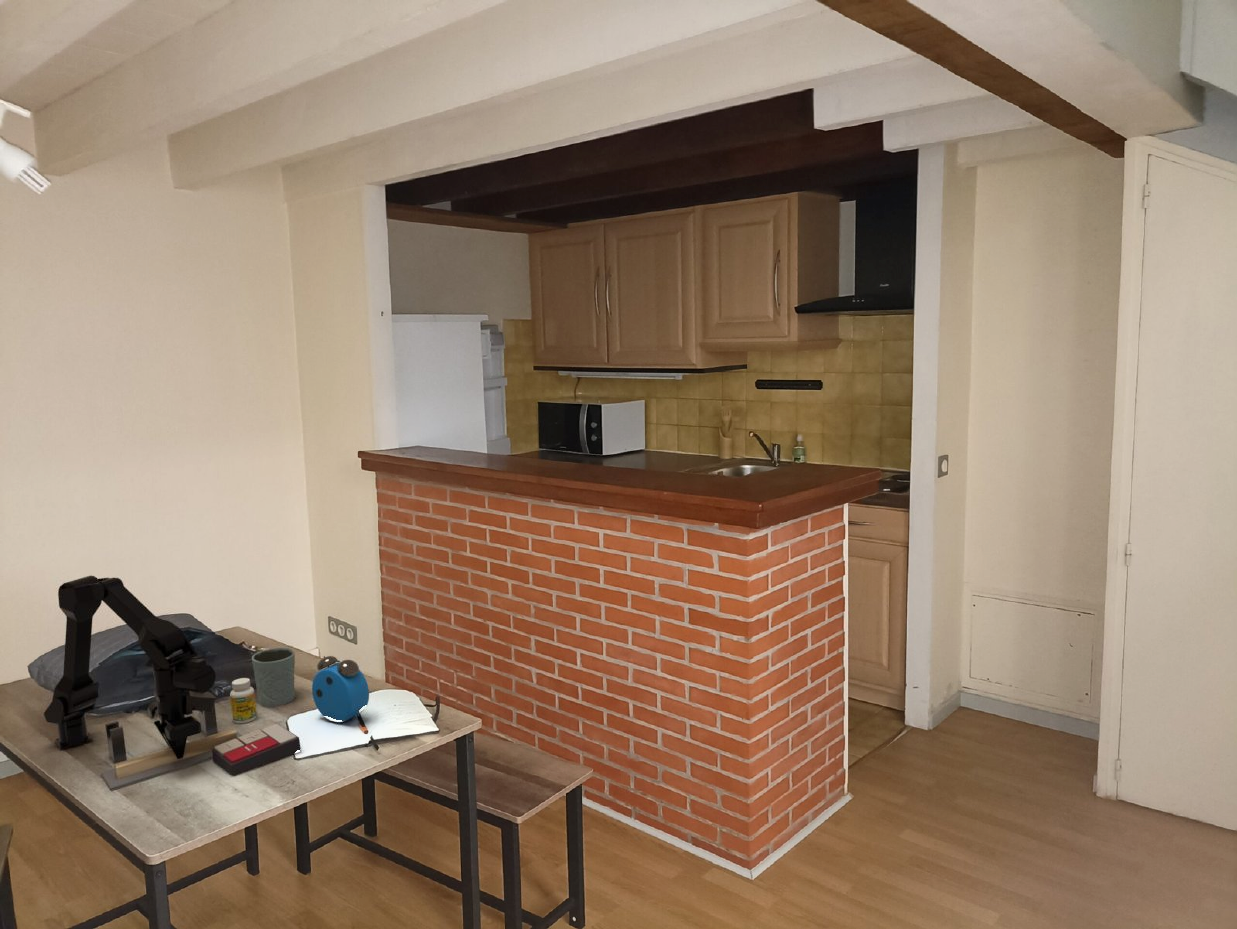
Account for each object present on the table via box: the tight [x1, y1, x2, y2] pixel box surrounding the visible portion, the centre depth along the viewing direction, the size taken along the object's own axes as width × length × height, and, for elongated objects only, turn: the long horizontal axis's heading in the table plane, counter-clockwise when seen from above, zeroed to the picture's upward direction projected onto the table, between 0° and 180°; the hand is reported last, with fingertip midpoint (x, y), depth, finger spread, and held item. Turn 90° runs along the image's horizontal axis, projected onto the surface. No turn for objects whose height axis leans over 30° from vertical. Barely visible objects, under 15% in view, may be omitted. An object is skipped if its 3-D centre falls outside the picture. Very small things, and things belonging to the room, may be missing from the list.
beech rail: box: [113, 728, 237, 779], centre depth 197 cm, size 2×24×2 cm, turn 130°
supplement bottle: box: [229, 677, 258, 724], centre depth 217 cm, size 5×5×10 cm
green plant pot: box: [251, 647, 296, 708], centre depth 227 cm, size 10×10×12 cm
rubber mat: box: [100, 731, 243, 791], centre depth 197 cm, size 9×28×1 cm, turn 130°
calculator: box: [212, 723, 302, 777], centre depth 197 cm, size 11×4×15 cm
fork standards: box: [104, 704, 219, 765], centre depth 205 cm, size 5×21×8 cm, turn 130°
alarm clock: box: [311, 655, 370, 722], centre depth 214 cm, size 13×6×15 cm, turn 60°
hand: (177, 755), depth 197 cm, fingers open, 3 cm apart
